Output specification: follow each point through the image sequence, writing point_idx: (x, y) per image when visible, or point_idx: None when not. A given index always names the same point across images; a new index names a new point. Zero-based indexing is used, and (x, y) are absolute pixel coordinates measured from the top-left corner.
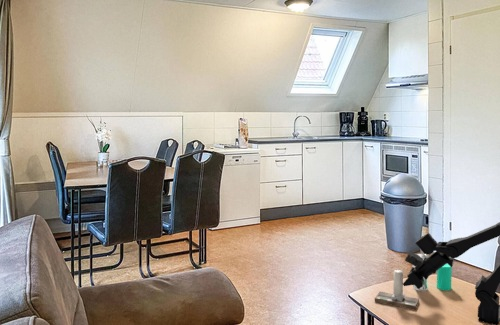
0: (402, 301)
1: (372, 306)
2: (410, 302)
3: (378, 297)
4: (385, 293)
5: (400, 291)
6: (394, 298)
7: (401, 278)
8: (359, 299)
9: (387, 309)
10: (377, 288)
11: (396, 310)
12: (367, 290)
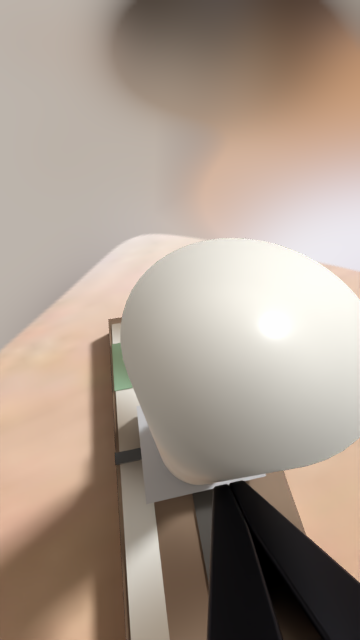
0: (166, 502)
1: (43, 346)
2: (192, 588)
3: None
4: None
5: (173, 472)
6: (140, 433)
7: (193, 468)
8: (100, 269)
9: (36, 438)
10: None
11: (46, 505)
12: None
